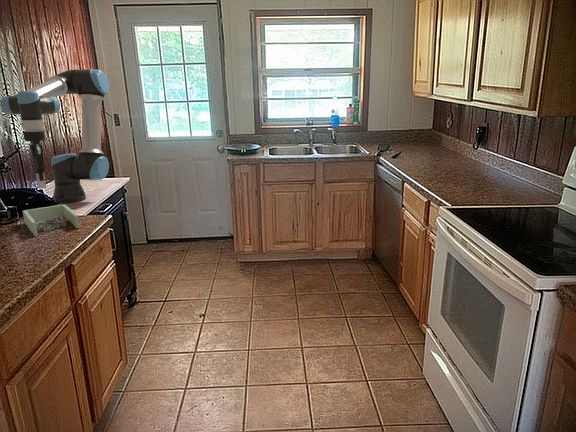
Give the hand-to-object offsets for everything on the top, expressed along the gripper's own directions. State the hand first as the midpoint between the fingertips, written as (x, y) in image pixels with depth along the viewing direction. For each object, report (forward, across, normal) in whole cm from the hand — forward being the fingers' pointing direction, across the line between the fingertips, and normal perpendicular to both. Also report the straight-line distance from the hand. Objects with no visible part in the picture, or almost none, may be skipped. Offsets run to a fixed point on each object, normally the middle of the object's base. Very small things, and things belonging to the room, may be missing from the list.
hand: (42, 188), depth 187 cm
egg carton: (+15, +9, 0) cm, 18 cm away
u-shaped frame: (+15, +7, 0) cm, 16 cm away
